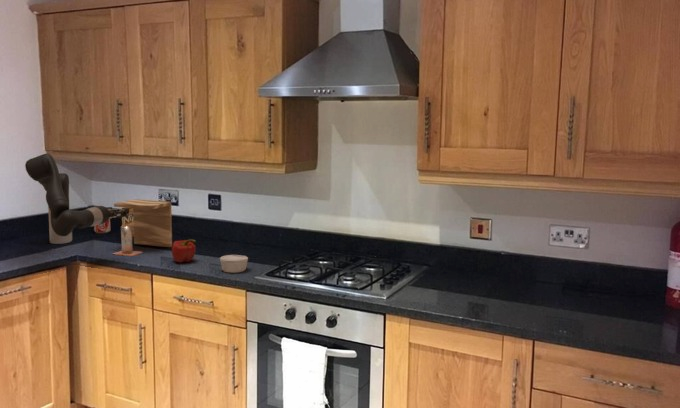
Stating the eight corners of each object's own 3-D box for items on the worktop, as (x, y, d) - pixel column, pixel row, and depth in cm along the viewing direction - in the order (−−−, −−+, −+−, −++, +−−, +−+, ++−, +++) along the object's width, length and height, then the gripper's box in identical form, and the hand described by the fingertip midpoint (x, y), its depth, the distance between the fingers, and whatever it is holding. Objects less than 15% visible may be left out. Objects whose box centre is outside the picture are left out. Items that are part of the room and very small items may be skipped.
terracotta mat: (123, 250, 274) (123, 250, 273) (142, 252, 271) (142, 251, 271) (112, 254, 266) (112, 253, 266) (131, 256, 263) (131, 255, 263)
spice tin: (126, 251, 271) (125, 225, 269) (134, 252, 270) (133, 225, 268) (119, 253, 267) (118, 226, 265) (128, 254, 265) (127, 227, 264)
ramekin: (251, 267, 249) (251, 255, 248) (242, 274, 238) (242, 261, 237) (225, 266, 250) (225, 253, 250) (216, 272, 240) (215, 259, 239)
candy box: (122, 237, 303) (121, 207, 301) (122, 235, 307) (121, 206, 305) (140, 236, 306) (140, 207, 304) (140, 235, 310) (139, 205, 308)
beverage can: (94, 234, 310) (93, 211, 308) (94, 231, 317) (93, 208, 316) (110, 233, 312) (109, 210, 311) (110, 230, 320) (110, 208, 318)
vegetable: (201, 259, 260) (201, 237, 258) (190, 265, 250) (189, 241, 249) (178, 258, 262) (178, 235, 261) (166, 263, 253) (166, 240, 251)
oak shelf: (135, 243, 290) (134, 199, 287) (172, 246, 285) (171, 201, 282) (115, 249, 276) (113, 203, 273) (153, 253, 270) (152, 206, 267)
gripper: (109, 208, 243) (133, 202, 259) (79, 205, 247) (105, 200, 263) (109, 226, 245) (134, 219, 260) (80, 223, 249) (106, 217, 264)
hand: (119, 210), depth 261 cm, fingers open, 8 cm apart
